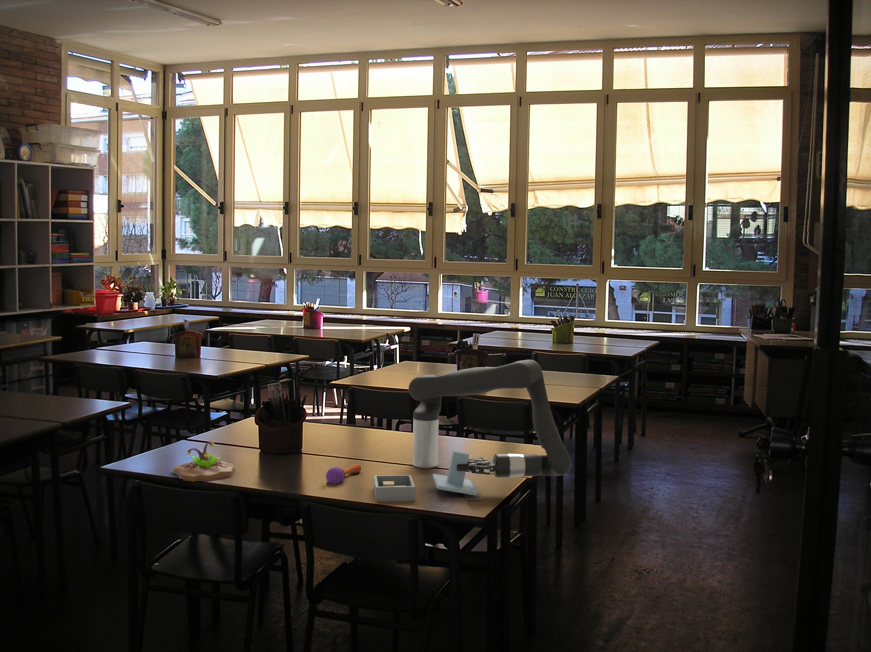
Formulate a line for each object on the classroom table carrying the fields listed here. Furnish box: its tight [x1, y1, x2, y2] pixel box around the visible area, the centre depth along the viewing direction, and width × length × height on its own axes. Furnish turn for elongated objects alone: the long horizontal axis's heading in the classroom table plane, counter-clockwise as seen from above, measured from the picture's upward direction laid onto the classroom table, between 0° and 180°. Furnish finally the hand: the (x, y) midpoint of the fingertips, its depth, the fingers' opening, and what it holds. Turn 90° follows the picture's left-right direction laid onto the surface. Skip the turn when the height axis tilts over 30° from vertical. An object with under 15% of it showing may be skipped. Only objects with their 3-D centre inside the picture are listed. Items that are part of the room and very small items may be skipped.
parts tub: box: [373, 474, 416, 503], centre depth 253 cm, size 14×12×5 cm
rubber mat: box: [461, 492, 482, 501], centre depth 258 cm, size 16×14×1 cm
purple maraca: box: [325, 462, 362, 485], centre depth 273 cm, size 6×6×20 cm
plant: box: [173, 441, 236, 483], centre depth 277 cm, size 20×20×11 cm
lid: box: [432, 450, 478, 495], centre depth 257 cm, size 15×13×11 cm
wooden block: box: [383, 481, 394, 487], centre depth 256 cm, size 4×4×3 cm
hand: (456, 466), depth 257 cm, fingers closed on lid, 2 cm apart
